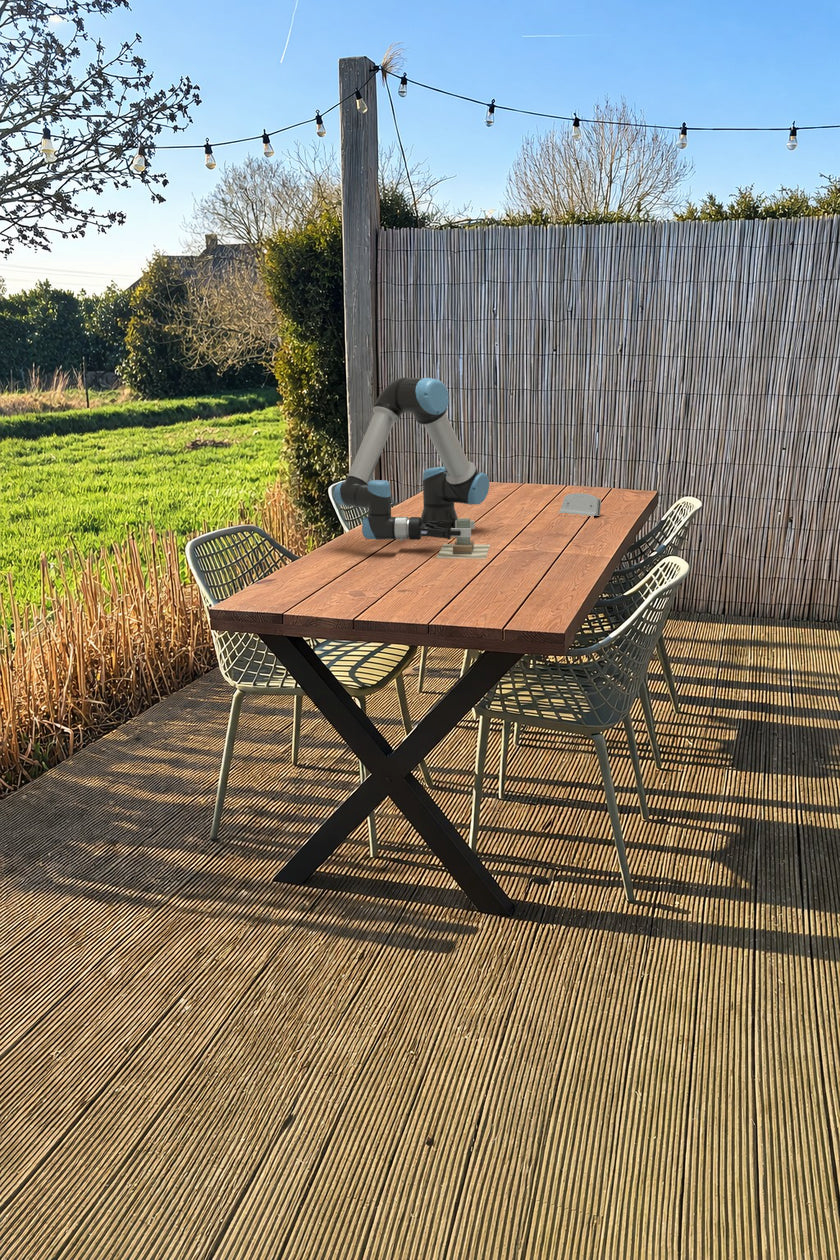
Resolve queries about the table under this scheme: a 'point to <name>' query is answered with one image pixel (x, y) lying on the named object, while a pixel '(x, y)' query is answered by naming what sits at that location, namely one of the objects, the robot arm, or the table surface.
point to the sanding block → (463, 539)
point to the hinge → (581, 504)
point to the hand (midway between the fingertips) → (473, 528)
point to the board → (477, 553)
